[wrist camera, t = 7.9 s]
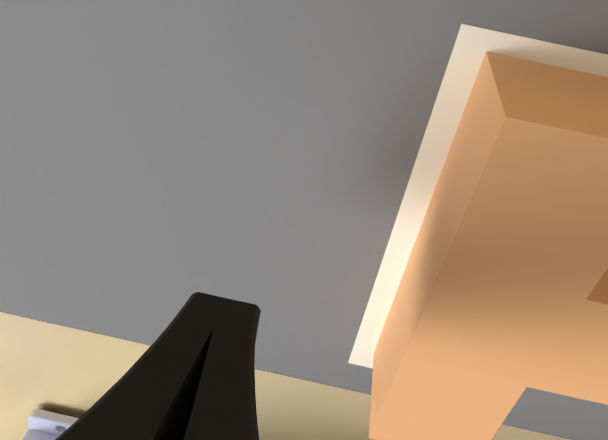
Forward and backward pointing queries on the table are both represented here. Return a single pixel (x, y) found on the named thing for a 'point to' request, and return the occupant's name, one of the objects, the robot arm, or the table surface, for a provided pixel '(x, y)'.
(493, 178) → the t block
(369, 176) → the mat
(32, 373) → the table surface
